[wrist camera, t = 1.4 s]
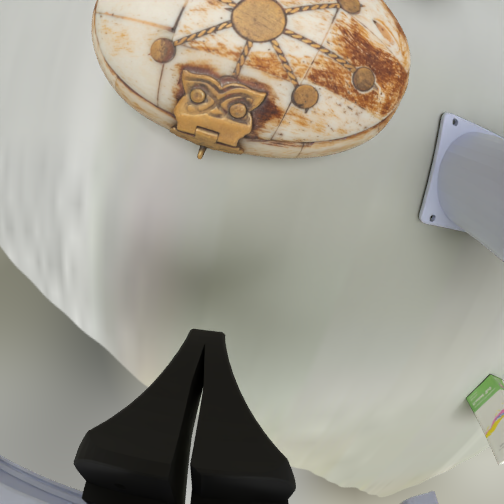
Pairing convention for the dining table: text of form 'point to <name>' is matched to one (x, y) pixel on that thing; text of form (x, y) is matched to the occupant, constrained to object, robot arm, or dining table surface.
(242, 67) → the trinket box
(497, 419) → the ink box
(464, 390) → the dining table surface
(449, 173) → the robot arm
